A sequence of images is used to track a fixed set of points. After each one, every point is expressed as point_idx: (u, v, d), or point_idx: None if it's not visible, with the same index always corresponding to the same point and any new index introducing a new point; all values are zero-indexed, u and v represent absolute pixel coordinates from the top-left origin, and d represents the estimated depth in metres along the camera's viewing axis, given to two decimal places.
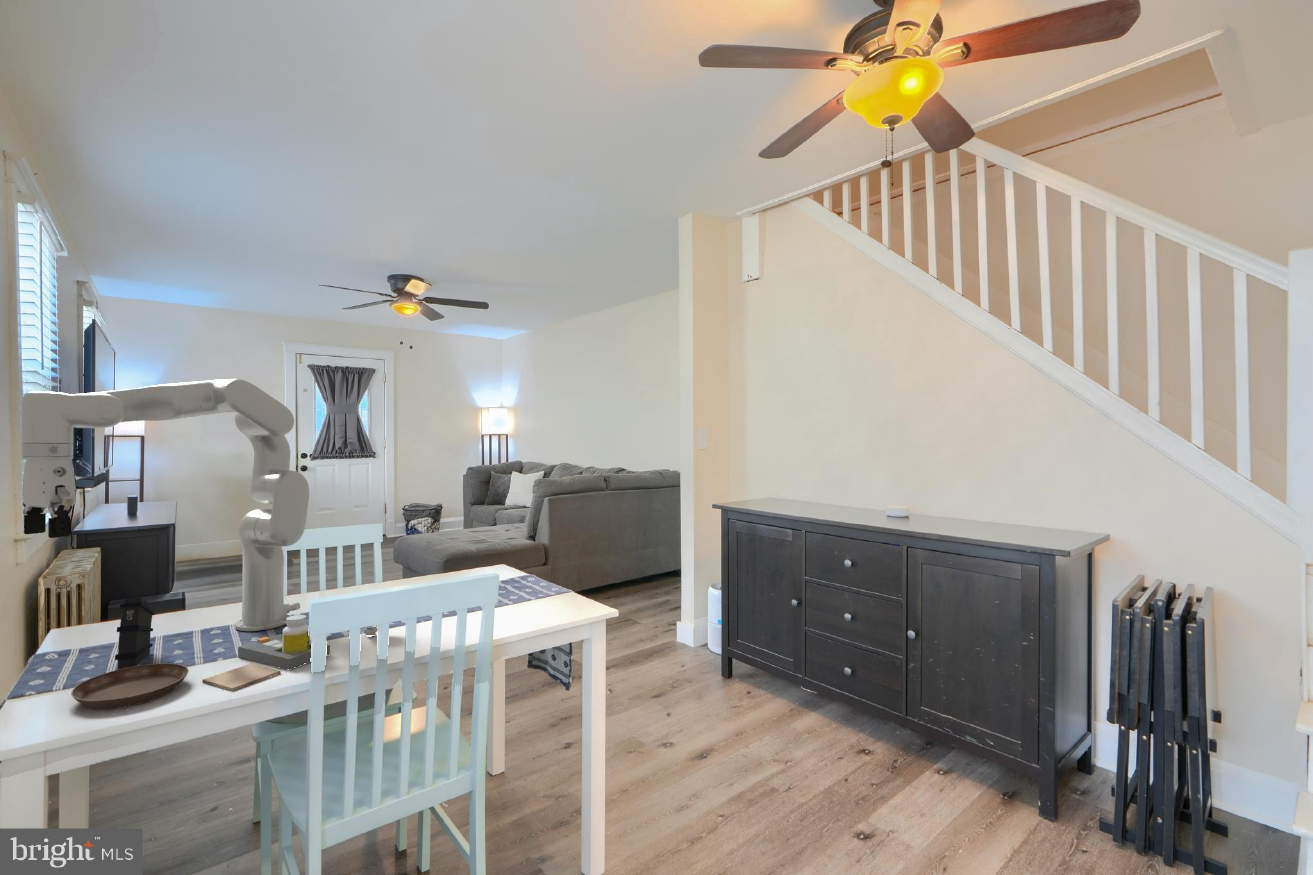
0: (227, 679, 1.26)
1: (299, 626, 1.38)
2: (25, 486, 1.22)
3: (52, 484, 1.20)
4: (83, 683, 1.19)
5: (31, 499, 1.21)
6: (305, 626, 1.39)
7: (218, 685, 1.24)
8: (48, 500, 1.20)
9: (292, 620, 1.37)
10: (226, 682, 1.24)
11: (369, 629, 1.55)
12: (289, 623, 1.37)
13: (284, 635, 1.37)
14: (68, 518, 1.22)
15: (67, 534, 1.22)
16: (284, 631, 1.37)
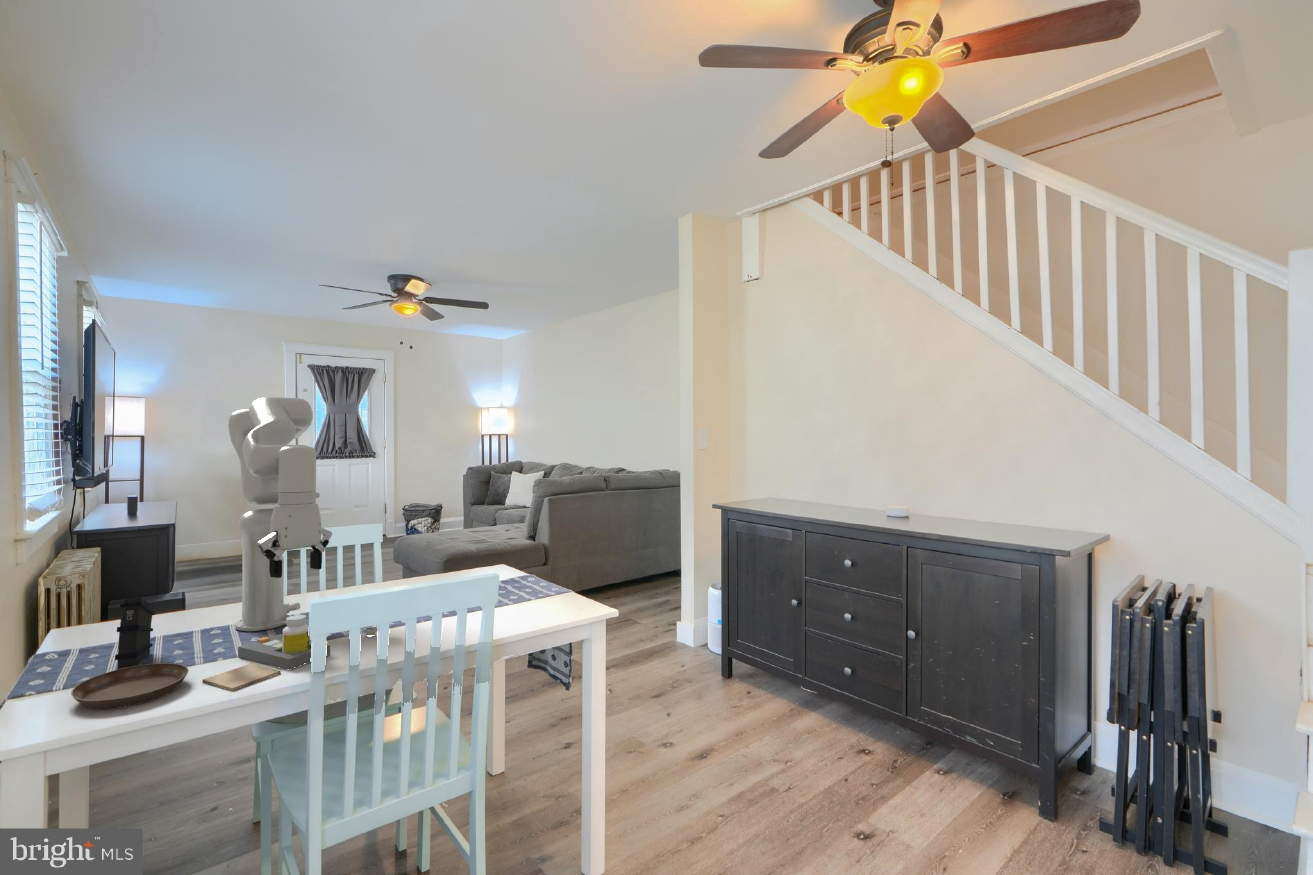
0: (227, 679, 1.26)
1: (299, 626, 1.38)
2: (292, 531, 1.36)
3: None
4: (83, 683, 1.19)
5: (301, 541, 1.38)
6: (305, 626, 1.39)
7: (218, 685, 1.24)
8: None
9: (292, 620, 1.37)
10: (226, 682, 1.24)
11: (369, 629, 1.55)
12: (289, 623, 1.37)
13: (284, 635, 1.37)
14: None
15: None
16: (284, 631, 1.37)
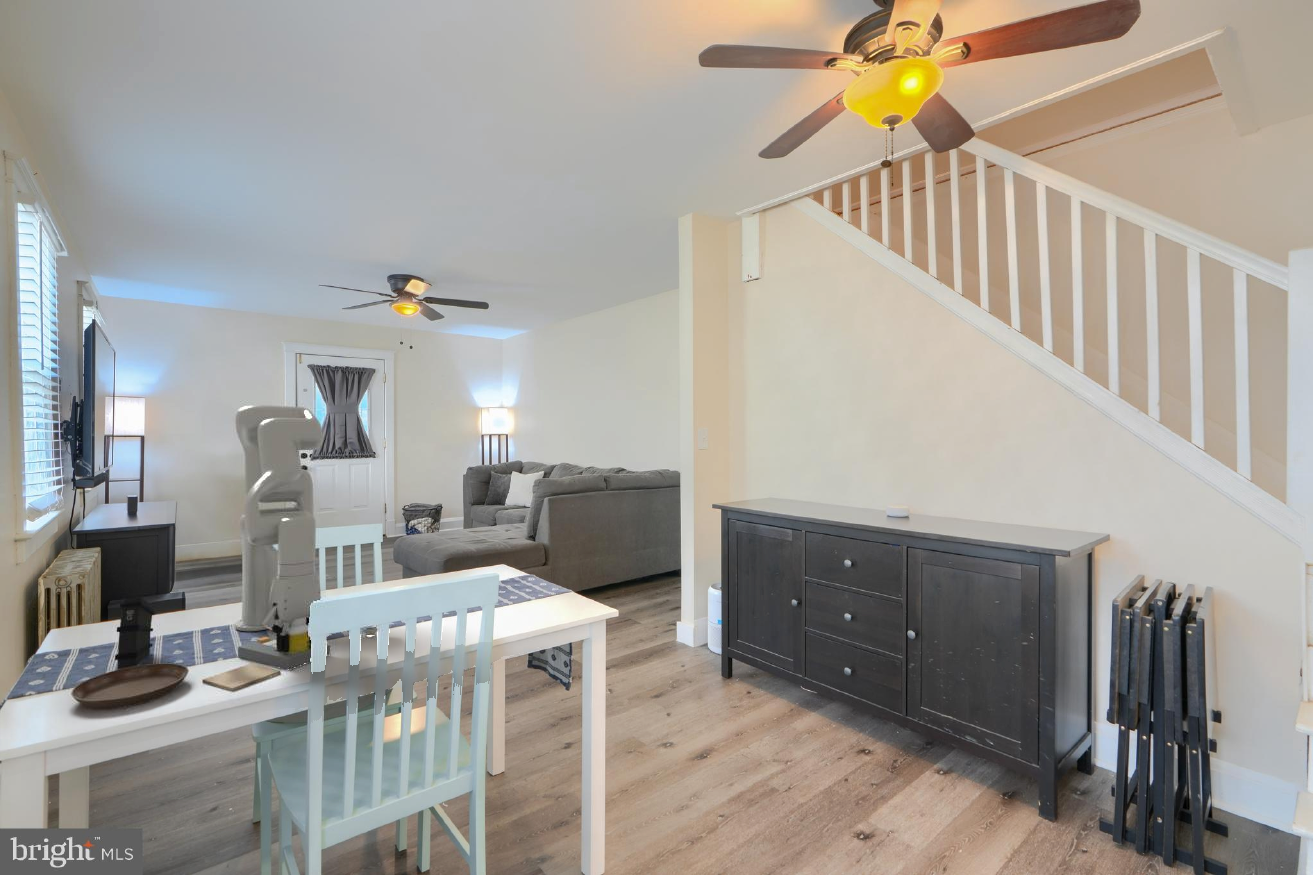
0: (227, 679, 1.26)
1: (299, 626, 1.38)
2: (292, 603, 1.36)
3: None
4: (83, 683, 1.19)
5: (300, 612, 1.38)
6: (305, 626, 1.39)
7: (218, 685, 1.24)
8: None
9: None
10: (226, 682, 1.24)
11: (369, 629, 1.55)
12: None
13: None
14: None
15: None
16: None
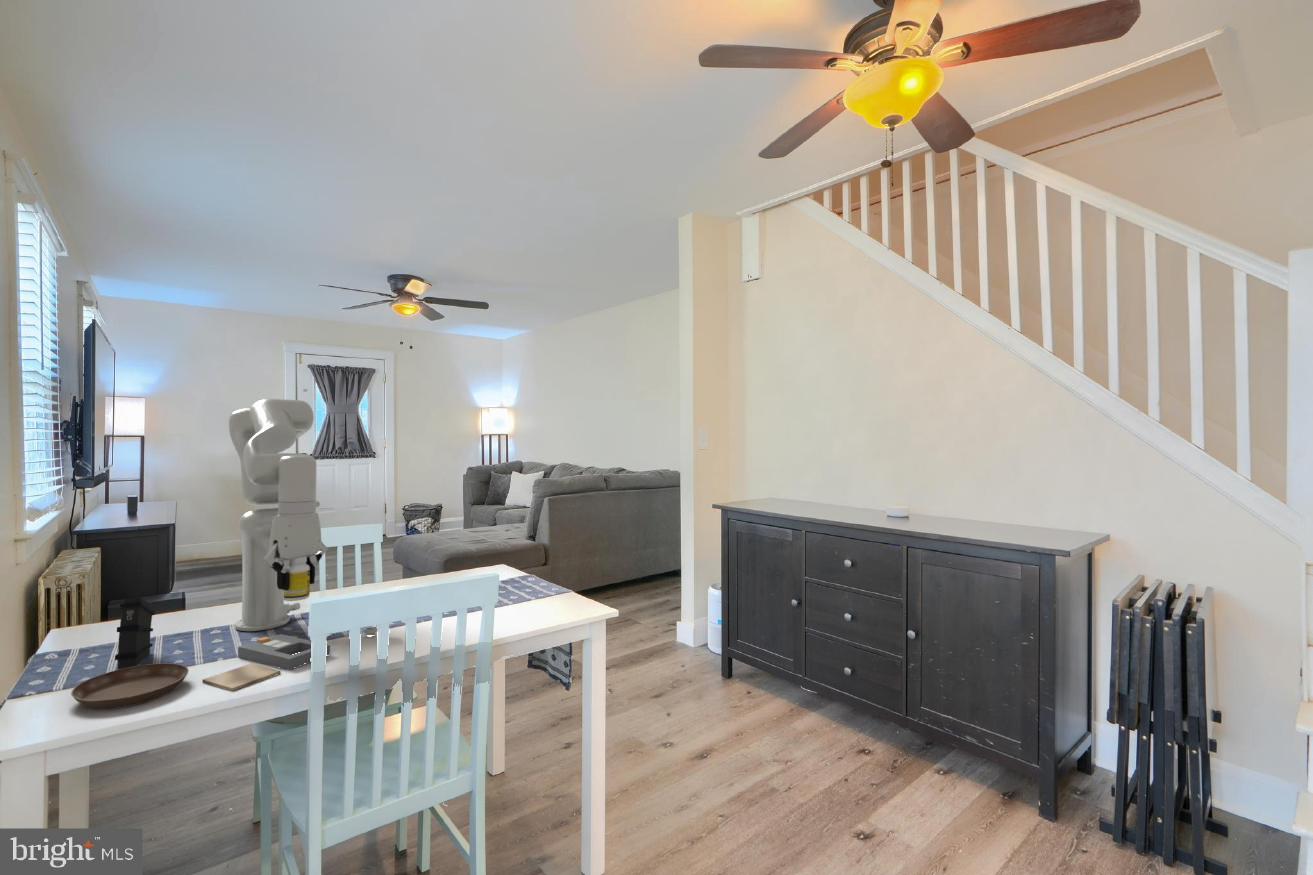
0: (227, 679, 1.26)
1: (299, 565, 1.38)
2: (292, 541, 1.36)
3: None
4: (83, 683, 1.19)
5: (301, 550, 1.38)
6: (305, 565, 1.40)
7: (218, 685, 1.24)
8: (320, 546, 1.43)
9: (292, 559, 1.38)
10: (226, 682, 1.24)
11: (369, 629, 1.55)
12: (290, 561, 1.37)
13: None
14: None
15: None
16: None
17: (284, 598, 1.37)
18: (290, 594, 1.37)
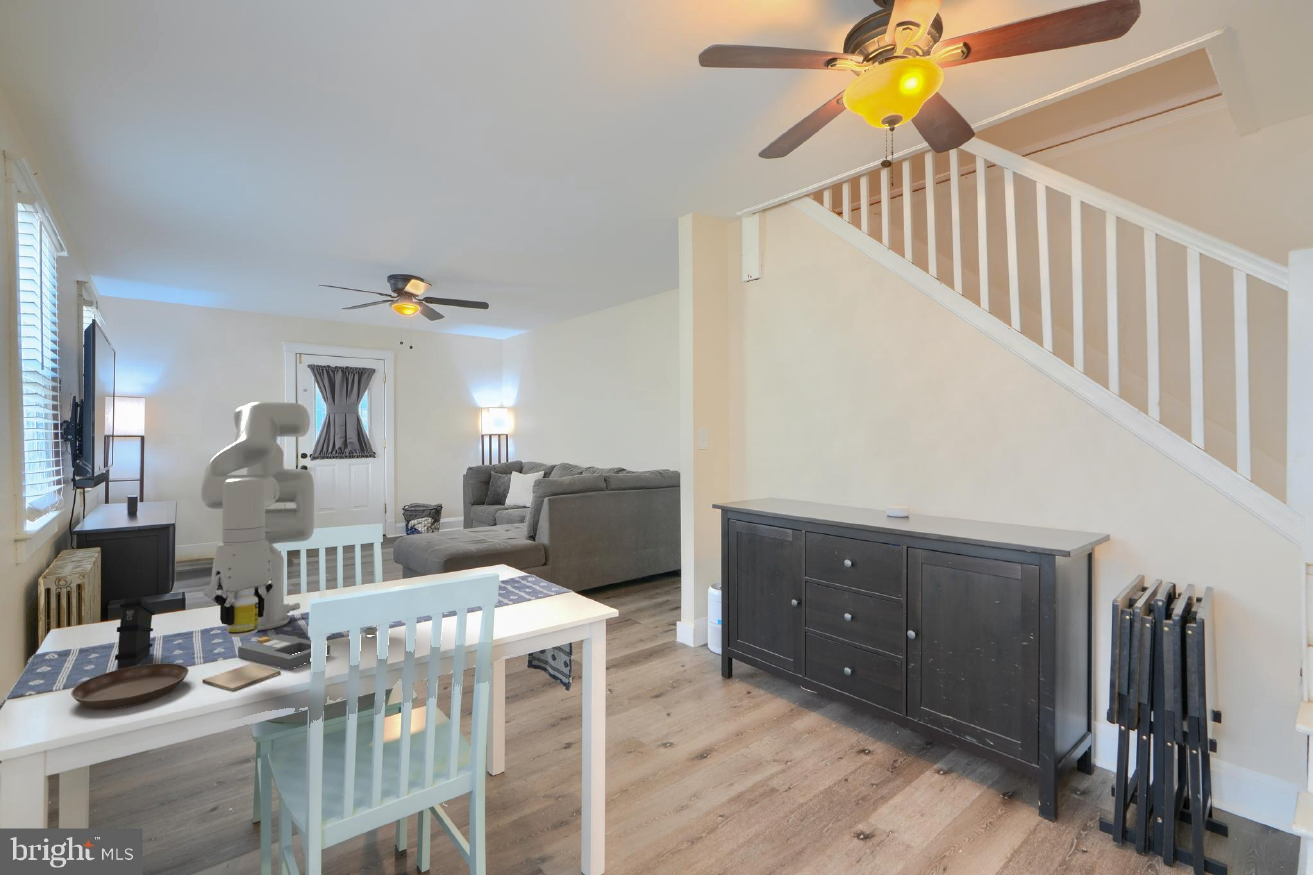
0: (227, 679, 1.26)
1: (246, 597, 1.27)
2: (237, 571, 1.25)
3: None
4: (83, 683, 1.19)
5: (247, 581, 1.27)
6: (253, 597, 1.28)
7: (218, 685, 1.24)
8: (270, 576, 1.32)
9: None
10: (226, 682, 1.24)
11: (369, 629, 1.55)
12: (235, 593, 1.26)
13: None
14: None
15: None
16: None
17: (229, 634, 1.26)
18: (235, 629, 1.25)
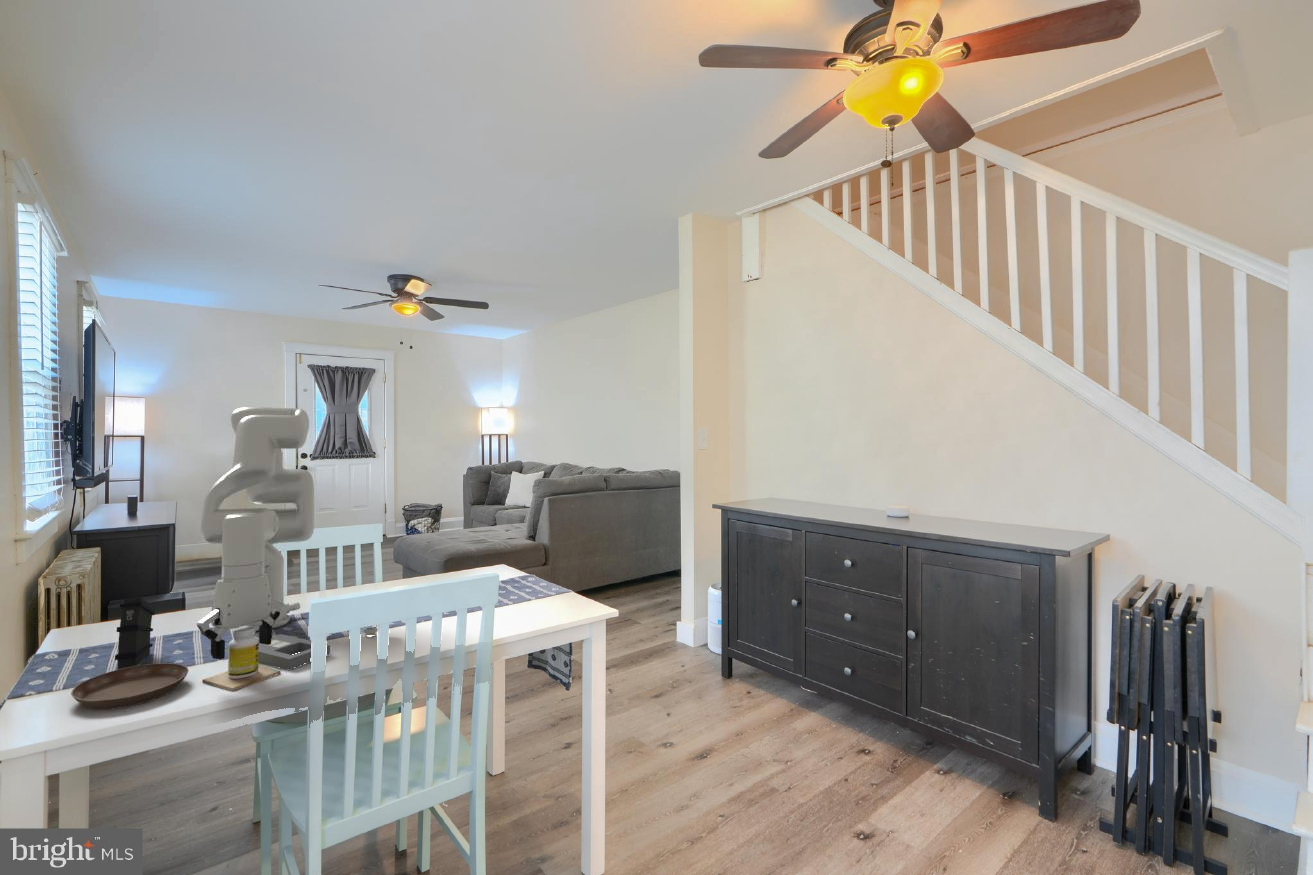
0: (227, 679, 1.26)
1: (246, 639, 1.28)
2: (237, 608, 1.25)
3: None
4: (83, 683, 1.19)
5: (247, 617, 1.27)
6: (254, 638, 1.29)
7: (218, 685, 1.24)
8: (270, 610, 1.32)
9: (239, 632, 1.27)
10: (226, 682, 1.24)
11: (369, 629, 1.55)
12: (236, 635, 1.27)
13: (230, 648, 1.26)
14: None
15: None
16: (230, 644, 1.27)
17: (229, 675, 1.26)
18: (235, 671, 1.26)
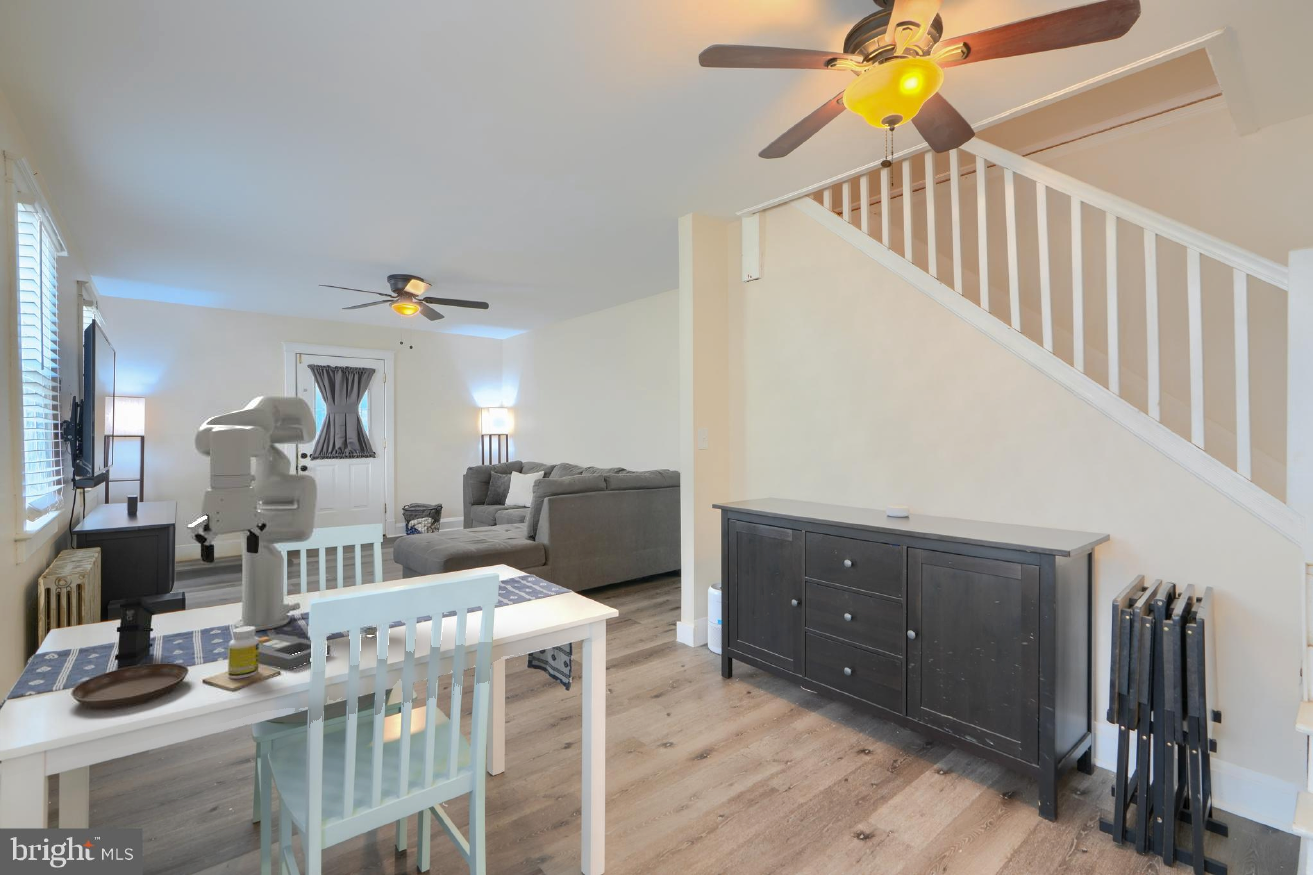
0: (227, 679, 1.26)
1: (246, 639, 1.28)
2: (225, 515, 1.32)
3: None
4: (83, 683, 1.19)
5: (235, 525, 1.34)
6: (254, 638, 1.29)
7: (218, 685, 1.24)
8: (257, 521, 1.39)
9: (239, 632, 1.27)
10: (226, 682, 1.24)
11: (369, 629, 1.55)
12: (236, 635, 1.27)
13: (230, 648, 1.26)
14: None
15: None
16: (230, 644, 1.27)
17: (229, 675, 1.26)
18: (235, 671, 1.26)
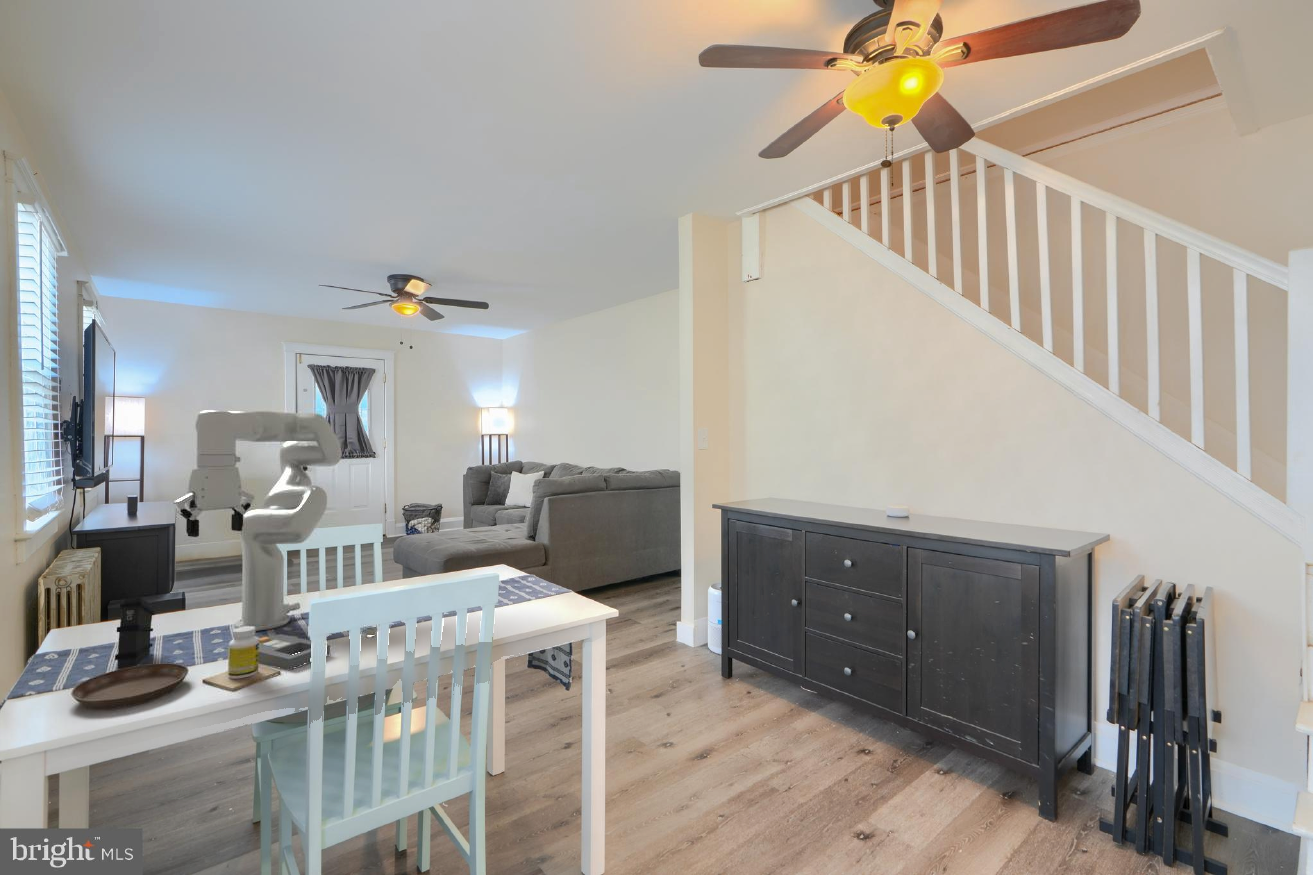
0: (227, 679, 1.26)
1: (246, 639, 1.28)
2: (210, 492, 1.40)
3: None
4: (82, 683, 1.19)
5: (219, 502, 1.42)
6: (254, 639, 1.29)
7: (218, 685, 1.24)
8: (241, 500, 1.47)
9: (239, 632, 1.27)
10: (226, 682, 1.24)
11: (369, 629, 1.55)
12: (236, 635, 1.27)
13: (230, 648, 1.26)
14: None
15: None
16: (230, 644, 1.26)
17: (229, 675, 1.26)
18: (235, 671, 1.26)
